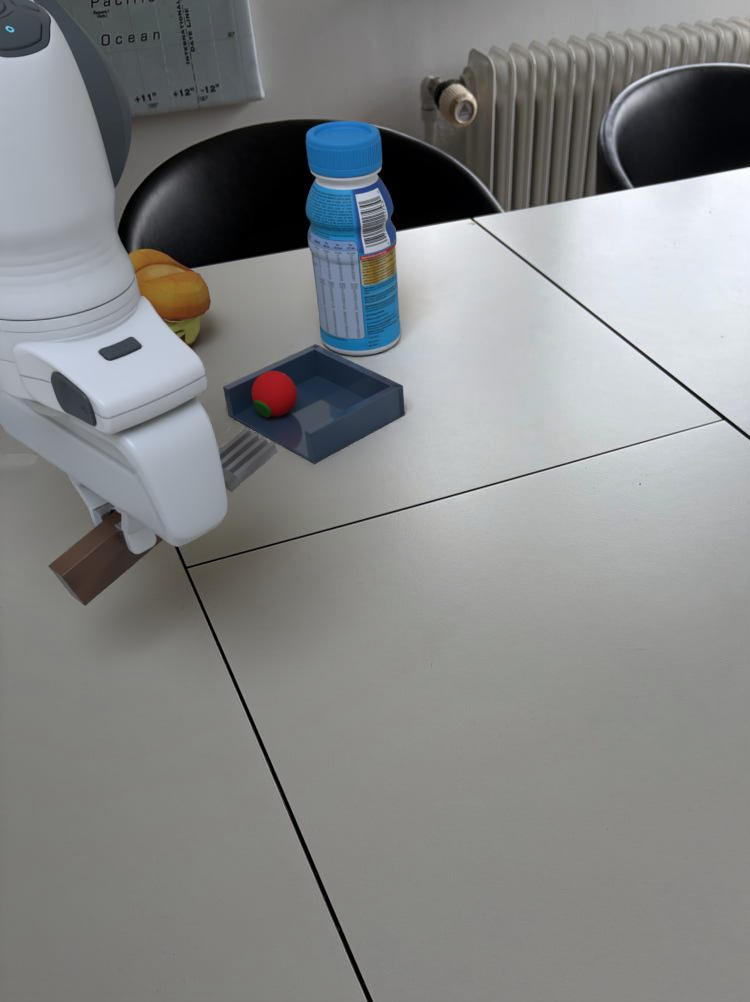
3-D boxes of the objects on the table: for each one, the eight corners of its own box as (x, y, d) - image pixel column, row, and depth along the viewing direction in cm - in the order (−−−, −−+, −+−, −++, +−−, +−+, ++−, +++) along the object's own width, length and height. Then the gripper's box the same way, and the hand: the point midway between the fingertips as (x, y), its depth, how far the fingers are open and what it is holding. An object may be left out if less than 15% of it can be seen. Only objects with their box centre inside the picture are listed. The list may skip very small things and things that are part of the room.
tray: (228, 415, 96) (222, 386, 94) (318, 372, 101) (315, 343, 99) (314, 463, 90) (310, 433, 88) (405, 414, 96) (403, 385, 93)
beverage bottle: (316, 359, 103) (290, 147, 90) (323, 321, 110) (299, 117, 96) (401, 358, 104) (388, 145, 90) (403, 319, 110) (391, 115, 96)
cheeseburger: (115, 317, 110) (116, 224, 104) (216, 341, 112) (223, 251, 105) (85, 361, 103) (84, 265, 96) (194, 386, 104) (200, 293, 98)
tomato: (310, 399, 96) (285, 431, 94) (275, 386, 97) (250, 417, 96) (298, 369, 92) (273, 401, 91) (262, 356, 93) (236, 387, 92)
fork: (92, 612, 65) (68, 582, 63) (64, 590, 67) (40, 560, 65) (279, 452, 71) (263, 419, 69) (249, 435, 73) (233, 402, 70)
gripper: (-78, 300, 61) (-2, 496, 70) (120, 420, 51) (179, 631, 60) (20, 266, 64) (80, 457, 74) (224, 372, 54) (264, 579, 63)
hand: (126, 536), depth 67 cm, fingers closed on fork
